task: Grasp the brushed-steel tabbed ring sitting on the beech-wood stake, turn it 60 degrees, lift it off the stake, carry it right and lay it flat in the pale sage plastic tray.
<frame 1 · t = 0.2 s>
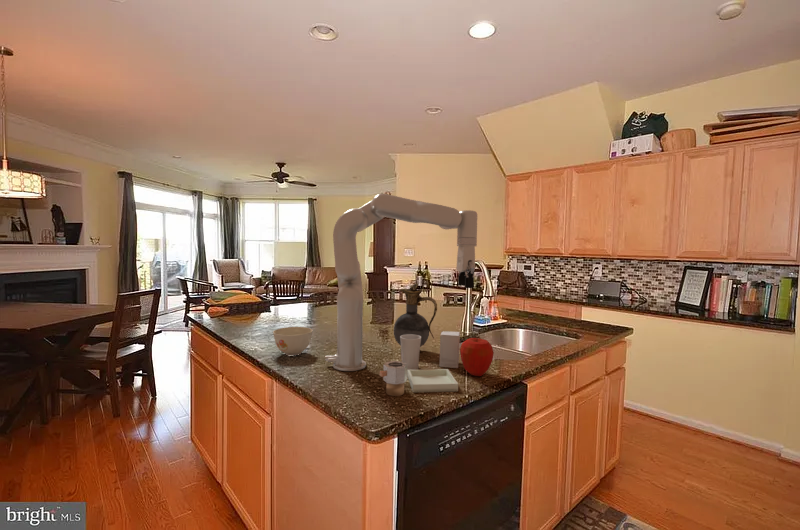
hand: (465, 286, 149), 31 cm above the worktop, fingers open, 9 cm apart
supplement box: (449, 365, 150), on the worktop
bowl: (293, 354, 160), on the worktop
cup: (410, 368, 145), on the worktop
apple: (475, 375, 139), on the worktop
tray: (431, 383, 129), on the worktop
pitcher: (414, 352, 168), on the worktop
ring: (395, 380, 120), point 4 cm above the worktop, touching stake
stake: (395, 392, 120), on the worktop
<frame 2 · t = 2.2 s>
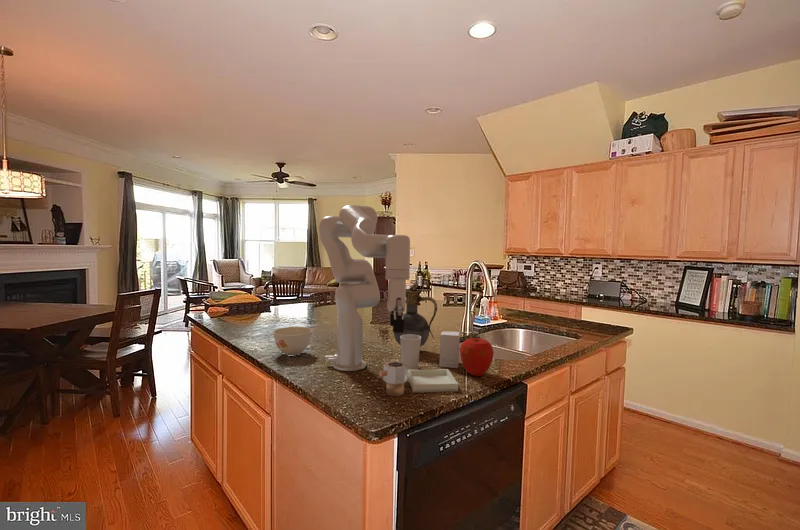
hand: (396, 328, 119), 20 cm above the worktop, fingers open, 9 cm apart
nothing on the worktop moved.
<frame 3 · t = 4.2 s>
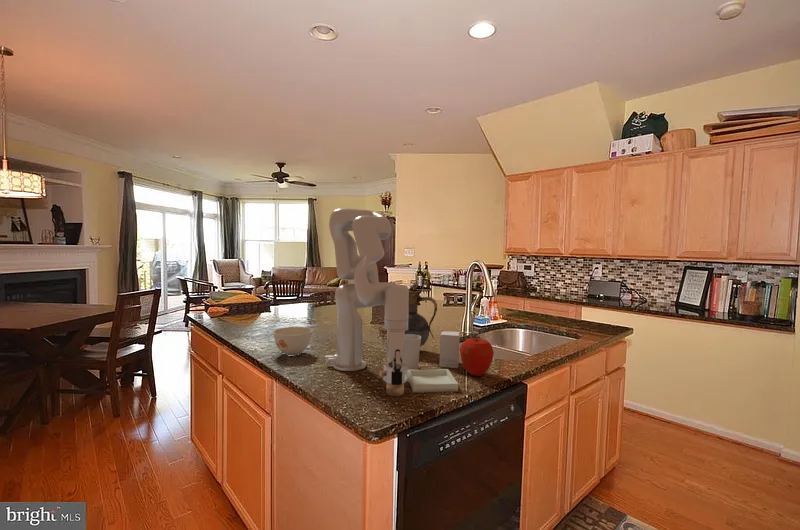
hand: (395, 379, 120), 4 cm above the worktop, fingers closed on ring, 7 cm apart
ring: (395, 380, 120), point 4 cm above the worktop, touching gripper, stake
everything else where it was.
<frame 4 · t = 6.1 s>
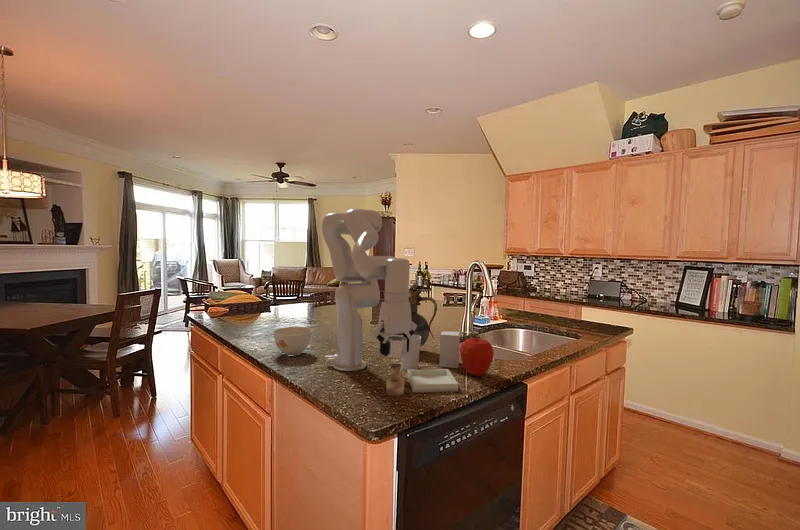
hand: (394, 352, 120), 13 cm above the worktop, fingers closed on ring, 7 cm apart
ring: (394, 353, 120), point 12 cm above the worktop, touching gripper
everything else where it was.
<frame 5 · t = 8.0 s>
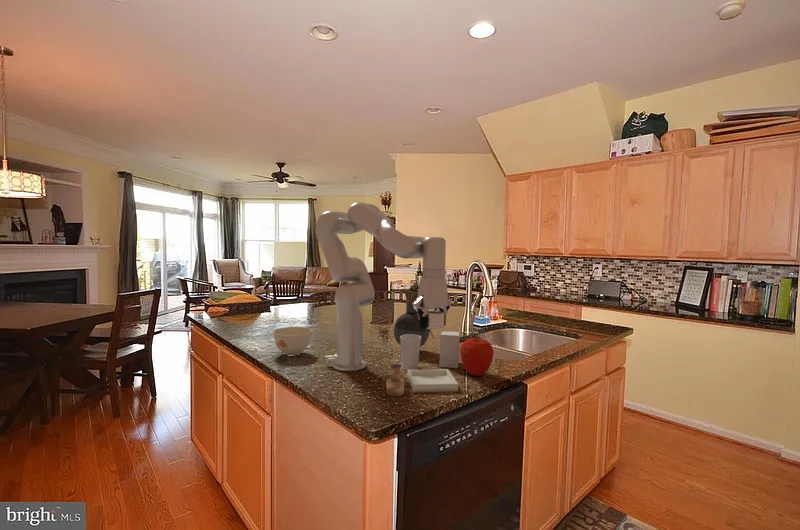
hand: (432, 326, 128), 20 cm above the worktop, fingers closed on ring, 7 cm apart
ring: (432, 327, 128), point 19 cm above the worktop, touching gripper
everything else where it was.
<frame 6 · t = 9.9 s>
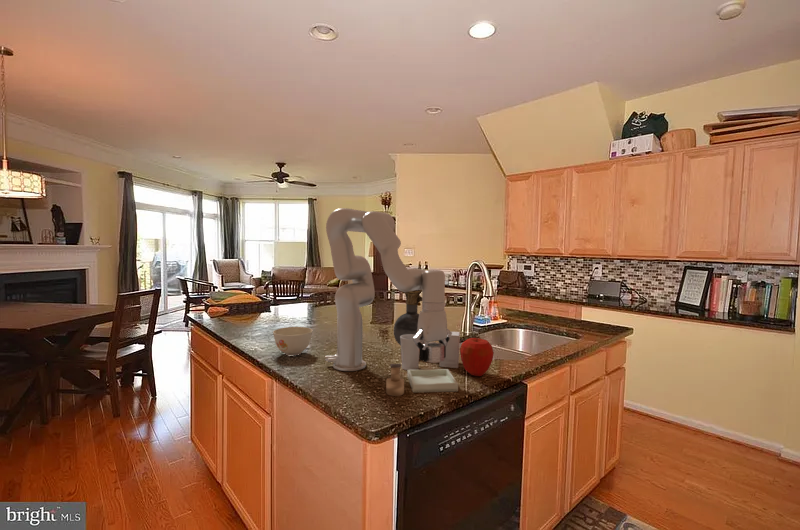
hand: (432, 358, 128), 9 cm above the worktop, fingers closed on ring, 7 cm apart
ring: (432, 359, 128), point 8 cm above the worktop, touching gripper
everything else where it was.
when the fingers open (2 cm above the worktop, at t = 11.7 s): ring drops 1 cm, resting on tray.
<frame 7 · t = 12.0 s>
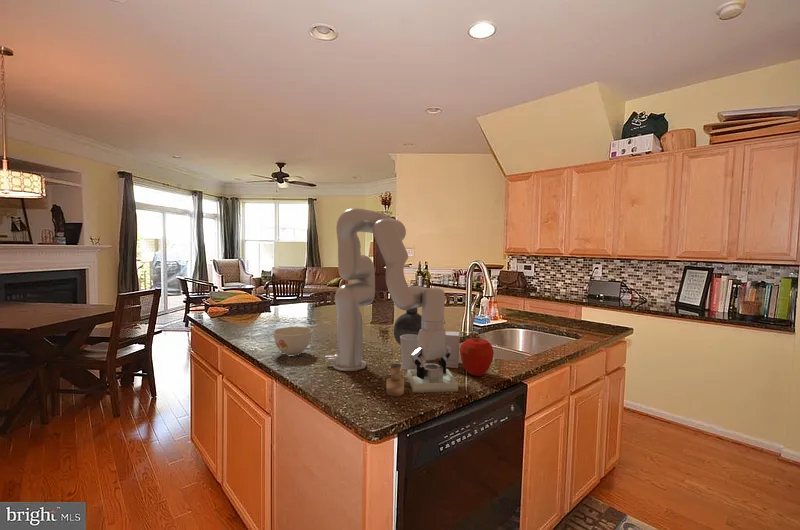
hand: (431, 375, 129), 3 cm above the worktop, fingers open, 9 cm apart
ring: (431, 381, 129), point 1 cm above the worktop, touching tray
everything else where it was.
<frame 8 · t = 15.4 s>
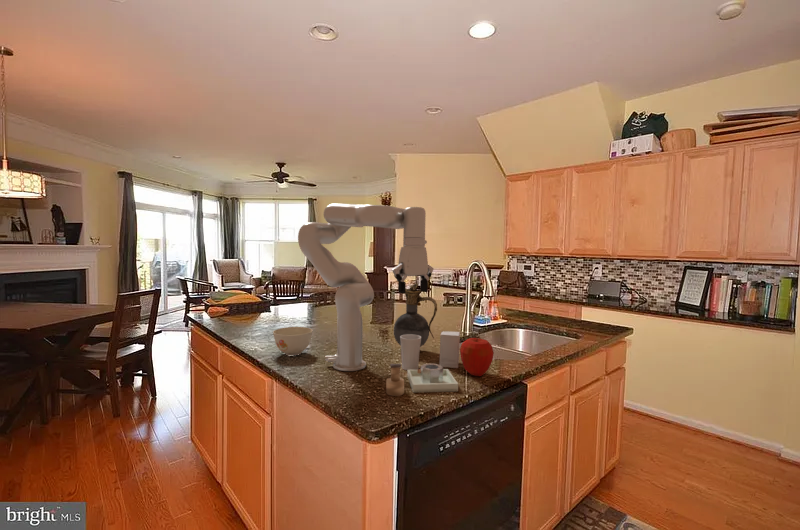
hand: (413, 292, 133), 30 cm above the worktop, fingers open, 9 cm apart
nothing on the worktop moved.
at the end: ring inside the target area on the tray (0.1 cm from its centre), point 0.8 cm above the tray's base; ring tilted 0°; the gripper is holding nothing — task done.
